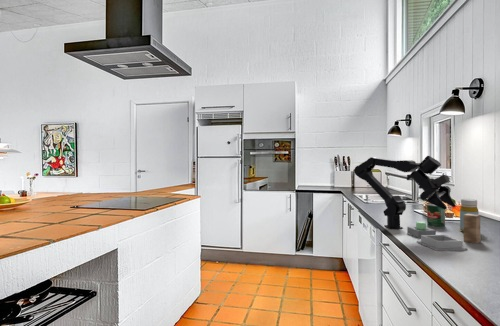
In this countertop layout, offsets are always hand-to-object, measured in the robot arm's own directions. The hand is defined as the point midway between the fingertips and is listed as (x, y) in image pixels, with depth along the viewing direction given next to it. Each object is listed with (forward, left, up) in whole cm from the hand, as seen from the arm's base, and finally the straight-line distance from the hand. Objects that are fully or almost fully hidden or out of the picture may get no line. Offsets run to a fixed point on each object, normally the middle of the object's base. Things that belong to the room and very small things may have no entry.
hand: (450, 207), depth 131 cm
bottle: (-9, +16, -13) cm, 23 cm away
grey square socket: (+12, -13, -13) cm, 22 cm away
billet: (+7, +4, -13) cm, 15 cm away
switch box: (-5, -10, -13) cm, 17 cm away
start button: (-5, -10, -12) cm, 16 cm away
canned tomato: (-22, +9, -13) cm, 28 cm away
